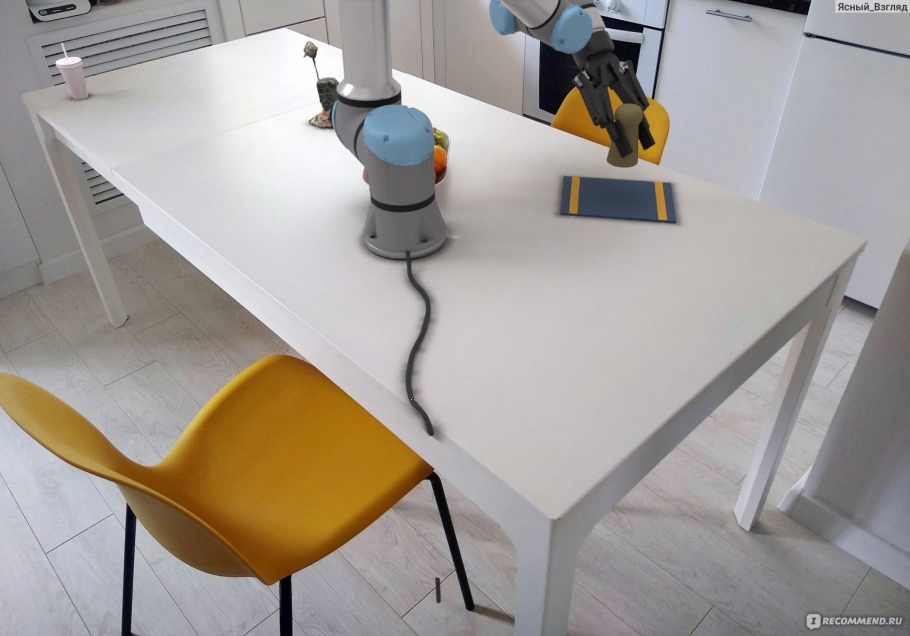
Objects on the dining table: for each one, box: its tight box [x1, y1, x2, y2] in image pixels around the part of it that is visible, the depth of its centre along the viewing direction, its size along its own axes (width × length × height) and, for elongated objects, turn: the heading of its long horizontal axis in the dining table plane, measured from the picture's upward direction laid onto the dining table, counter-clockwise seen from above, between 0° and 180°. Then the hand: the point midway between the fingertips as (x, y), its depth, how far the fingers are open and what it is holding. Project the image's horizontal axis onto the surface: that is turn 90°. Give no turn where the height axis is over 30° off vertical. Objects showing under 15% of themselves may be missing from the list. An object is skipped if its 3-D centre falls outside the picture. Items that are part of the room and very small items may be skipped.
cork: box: [606, 103, 643, 169], centre depth 135 cm, size 6×6×11 cm
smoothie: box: [55, 42, 89, 100], centre depth 188 cm, size 6×6×14 cm
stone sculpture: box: [303, 40, 340, 128], centre depth 170 cm, size 8×11×20 cm
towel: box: [559, 175, 677, 224], centre depth 144 cm, size 16×22×1 cm
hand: (638, 150), depth 134 cm, fingers closed on cork, 5 cm apart
